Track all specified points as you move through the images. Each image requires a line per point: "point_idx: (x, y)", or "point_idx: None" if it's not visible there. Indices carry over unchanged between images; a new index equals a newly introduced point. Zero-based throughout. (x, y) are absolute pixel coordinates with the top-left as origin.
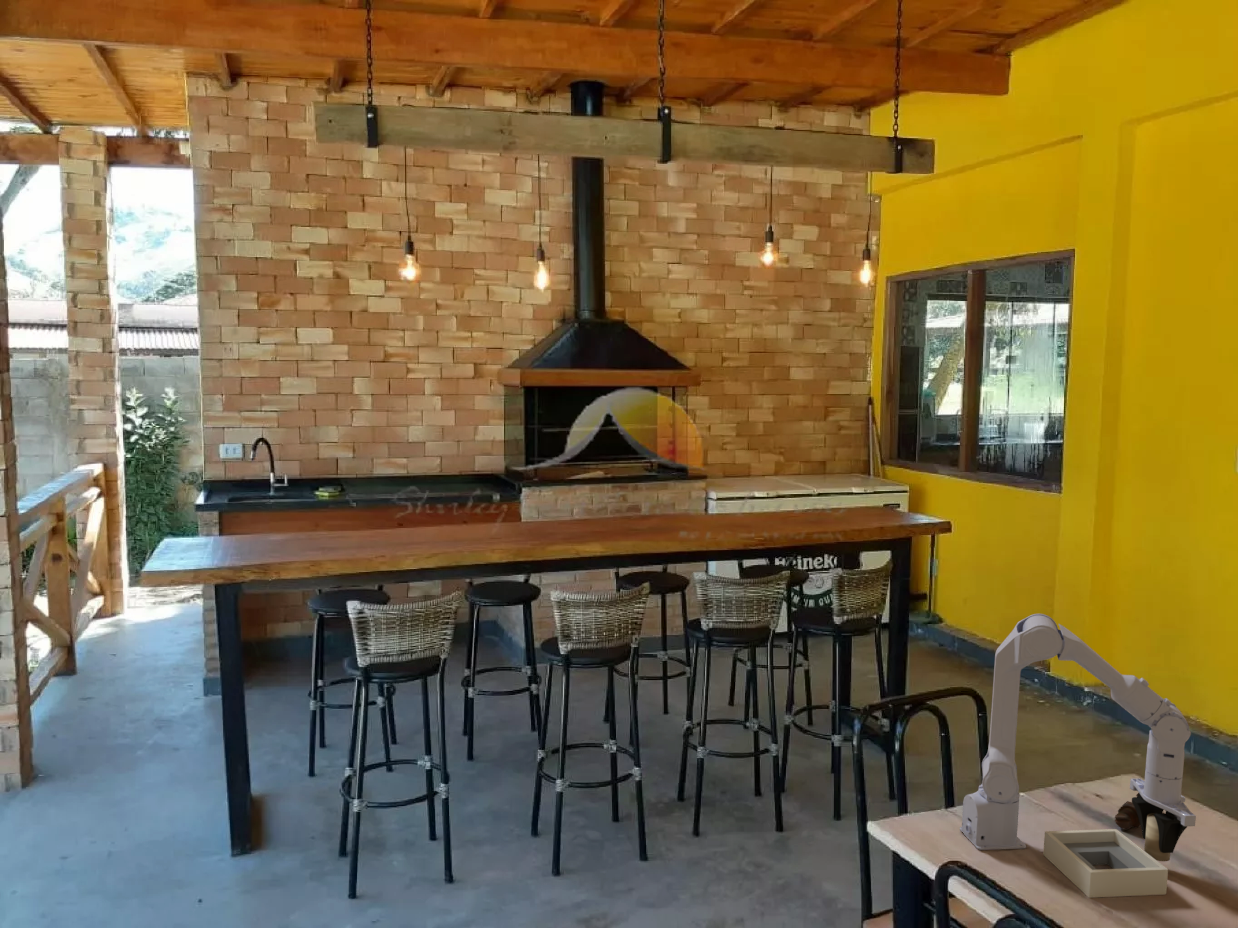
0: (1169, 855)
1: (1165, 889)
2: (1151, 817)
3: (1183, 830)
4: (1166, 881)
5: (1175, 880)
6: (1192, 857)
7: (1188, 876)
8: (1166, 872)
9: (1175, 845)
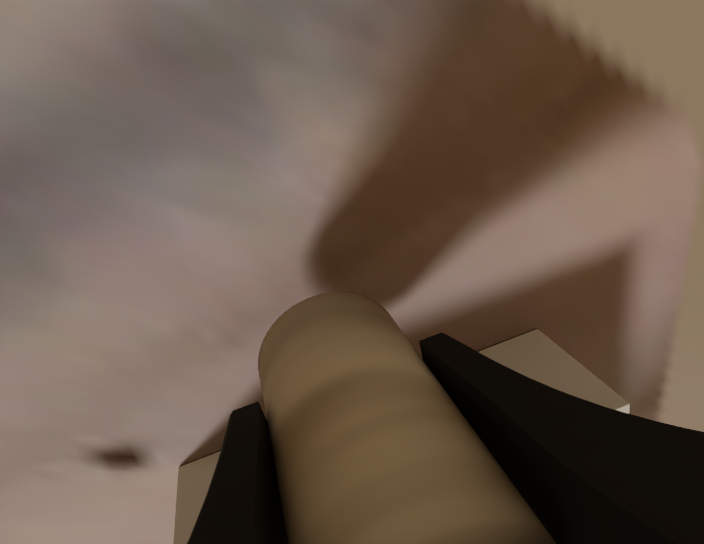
0: (389, 318)
1: (552, 344)
2: None
3: (646, 425)
4: (581, 366)
5: (420, 252)
6: (61, 7)
7: (369, 165)
8: (615, 397)
9: (480, 354)
